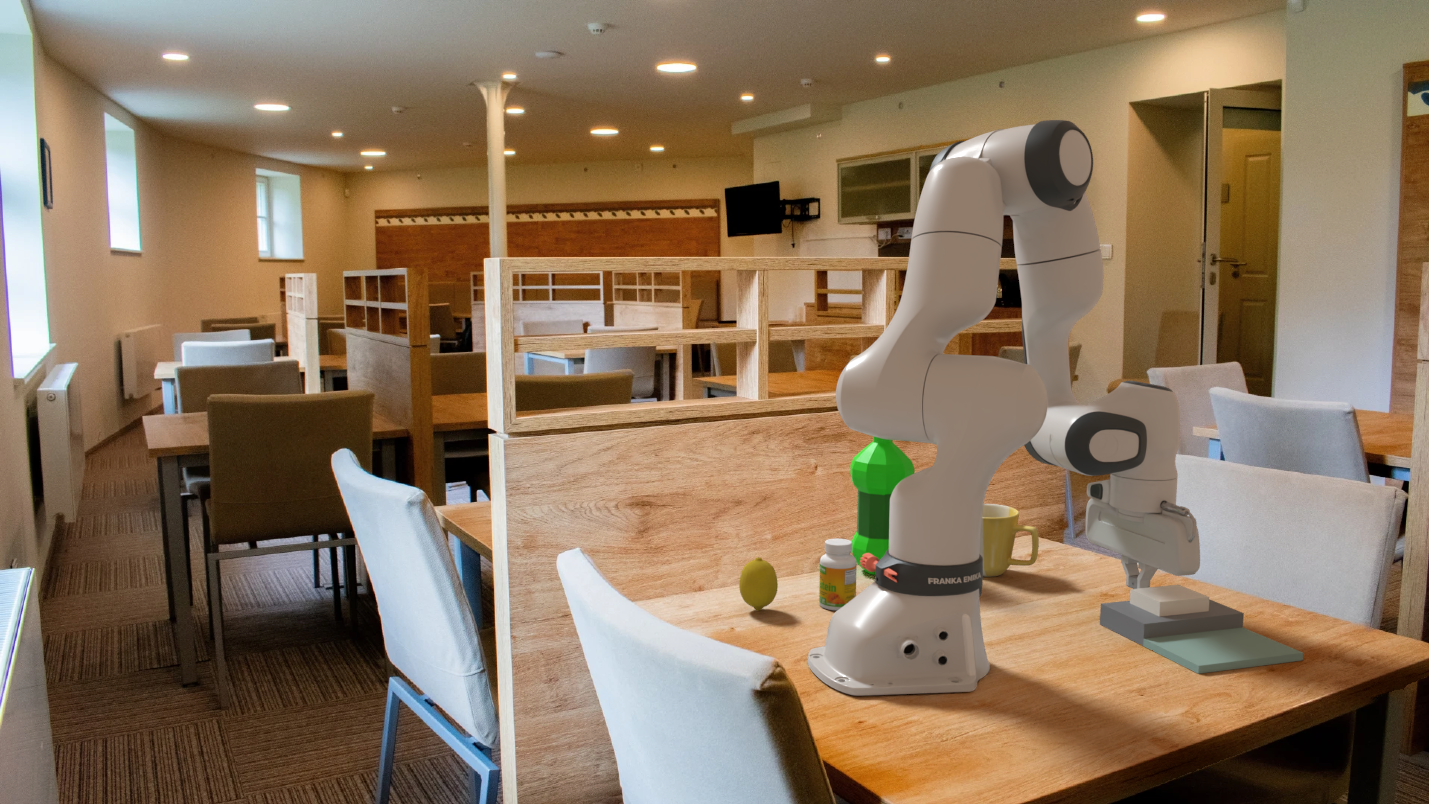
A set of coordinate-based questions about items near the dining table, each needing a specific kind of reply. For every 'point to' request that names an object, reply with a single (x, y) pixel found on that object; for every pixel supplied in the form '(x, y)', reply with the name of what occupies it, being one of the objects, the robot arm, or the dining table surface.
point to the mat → (1222, 650)
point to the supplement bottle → (837, 574)
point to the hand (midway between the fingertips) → (1137, 589)
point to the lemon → (758, 583)
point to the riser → (1166, 621)
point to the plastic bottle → (876, 494)
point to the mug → (1002, 539)
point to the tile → (1169, 600)
